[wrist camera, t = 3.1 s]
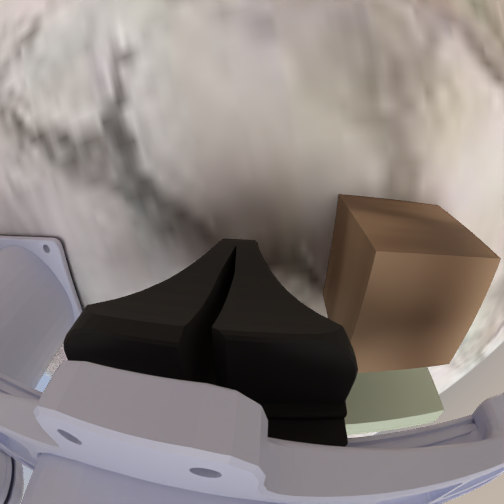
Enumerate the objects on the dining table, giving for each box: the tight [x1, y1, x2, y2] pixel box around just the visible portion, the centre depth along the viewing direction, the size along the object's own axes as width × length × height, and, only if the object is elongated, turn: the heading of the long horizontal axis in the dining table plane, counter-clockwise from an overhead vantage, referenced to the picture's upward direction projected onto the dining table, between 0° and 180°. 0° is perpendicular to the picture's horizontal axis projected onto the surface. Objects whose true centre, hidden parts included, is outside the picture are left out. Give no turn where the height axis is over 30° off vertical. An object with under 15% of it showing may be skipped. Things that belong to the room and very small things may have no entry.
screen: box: [344, 367, 444, 435], centre depth 14 cm, size 15×3×5 cm, turn 89°
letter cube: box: [323, 194, 501, 373], centre depth 11 cm, size 5×5×5 cm
